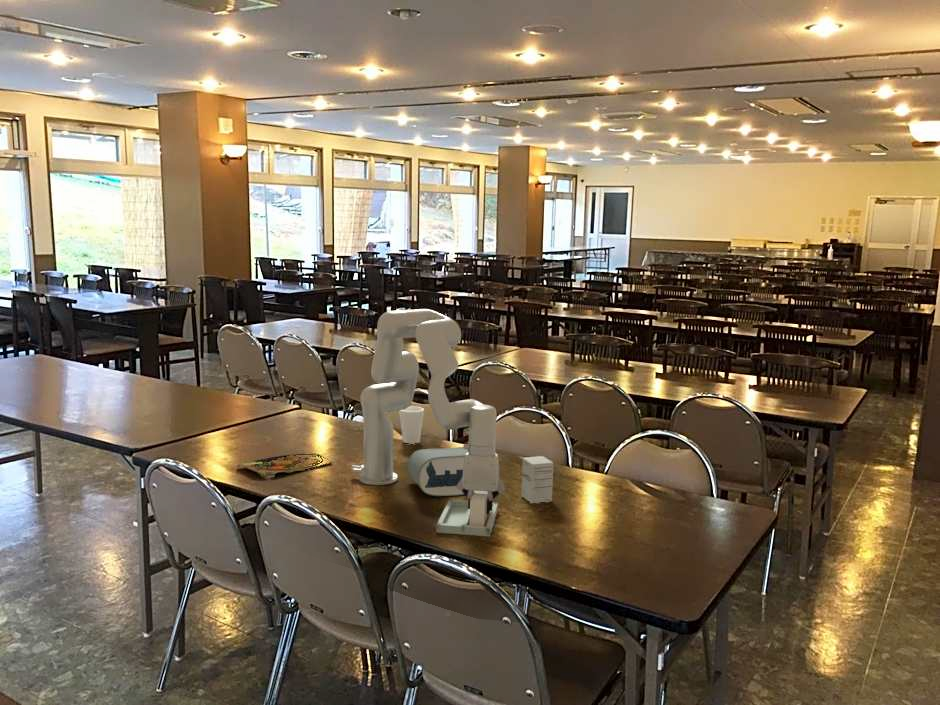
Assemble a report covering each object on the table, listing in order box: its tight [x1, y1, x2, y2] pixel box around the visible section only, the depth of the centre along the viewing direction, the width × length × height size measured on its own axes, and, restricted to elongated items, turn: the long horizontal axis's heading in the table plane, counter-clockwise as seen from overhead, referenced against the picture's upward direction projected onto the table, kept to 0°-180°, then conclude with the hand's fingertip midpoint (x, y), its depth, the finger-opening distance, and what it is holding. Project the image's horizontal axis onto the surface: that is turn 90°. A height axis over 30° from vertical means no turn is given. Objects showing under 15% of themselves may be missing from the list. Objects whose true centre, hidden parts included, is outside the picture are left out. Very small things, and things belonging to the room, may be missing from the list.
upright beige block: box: [469, 491, 488, 527], centre depth 224 cm, size 4×14×7 cm, turn 172°
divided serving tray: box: [436, 498, 499, 537], centre depth 225 cm, size 15×20×2 cm
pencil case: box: [407, 446, 475, 497], centre depth 253 cm, size 22×19×13 cm
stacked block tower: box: [520, 455, 554, 505], centre depth 244 cm, size 7×7×13 cm
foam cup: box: [398, 405, 425, 445], centre depth 303 cm, size 10×9×13 cm
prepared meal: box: [236, 452, 334, 478], centre depth 271 cm, size 28×4×18 cm
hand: (480, 511), depth 225 cm, fingers closed on upright beige block, 4 cm apart
